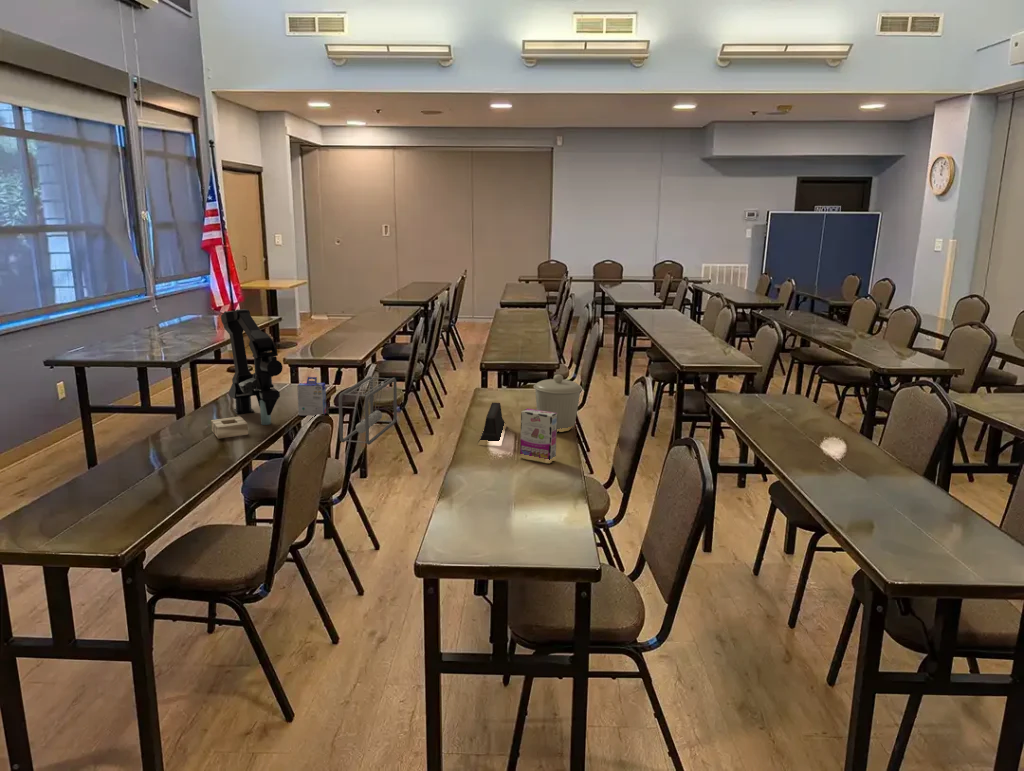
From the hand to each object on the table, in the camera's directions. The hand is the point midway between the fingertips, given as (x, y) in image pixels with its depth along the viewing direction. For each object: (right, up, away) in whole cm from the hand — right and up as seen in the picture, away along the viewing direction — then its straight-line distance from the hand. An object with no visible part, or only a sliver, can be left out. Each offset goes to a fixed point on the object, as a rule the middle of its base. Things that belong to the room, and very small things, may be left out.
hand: (265, 411), depth 263 cm
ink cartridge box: (+13, -2, +15) cm, 20 cm away
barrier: (+84, -9, -5) cm, 85 cm away
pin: (0, -4, +1) cm, 4 cm away
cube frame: (+40, -7, -5) cm, 41 cm away
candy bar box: (+100, -15, -29) cm, 105 cm away
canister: (+108, -7, +5) cm, 108 cm away
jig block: (-9, -7, -11) cm, 16 cm away
